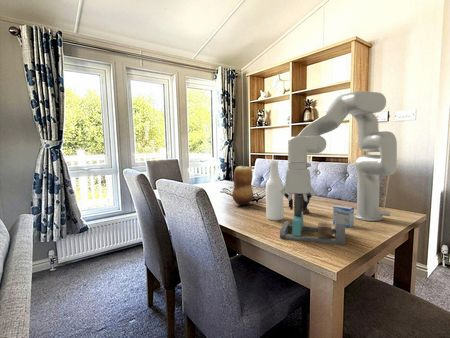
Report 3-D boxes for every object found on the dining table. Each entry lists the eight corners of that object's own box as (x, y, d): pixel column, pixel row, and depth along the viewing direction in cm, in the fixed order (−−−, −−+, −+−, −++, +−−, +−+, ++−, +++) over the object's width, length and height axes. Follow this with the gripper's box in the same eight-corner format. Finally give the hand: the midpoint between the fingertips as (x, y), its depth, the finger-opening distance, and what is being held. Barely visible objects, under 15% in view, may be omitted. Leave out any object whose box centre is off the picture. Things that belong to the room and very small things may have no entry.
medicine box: (332, 224, 116) (332, 206, 116) (336, 222, 119) (336, 204, 119) (350, 228, 111) (350, 209, 110) (353, 225, 114) (354, 207, 113)
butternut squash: (252, 207, 152) (251, 167, 150) (231, 207, 155) (229, 167, 152) (254, 202, 166) (253, 165, 164) (234, 202, 168) (233, 165, 166)
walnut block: (331, 235, 103) (331, 223, 102) (331, 239, 98) (331, 227, 98) (318, 234, 105) (318, 222, 104) (318, 238, 100) (318, 226, 100)
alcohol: (272, 221, 123) (271, 161, 121) (263, 217, 131) (262, 160, 129) (287, 219, 126) (286, 160, 124) (277, 215, 135) (276, 159, 132)
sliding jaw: (303, 225, 111) (302, 193, 110) (300, 236, 98) (300, 200, 97) (296, 224, 112) (295, 193, 111) (292, 235, 99) (292, 200, 98)
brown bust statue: (314, 216, 130) (314, 178, 128) (297, 216, 130) (297, 179, 129) (307, 210, 142) (307, 175, 140) (292, 210, 142) (292, 176, 140)
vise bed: (342, 232, 105) (342, 214, 105) (344, 245, 92) (345, 224, 92) (284, 227, 114) (284, 210, 114) (279, 238, 101) (279, 219, 101)
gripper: (319, 165, 103) (319, 208, 105) (278, 165, 109) (279, 206, 111) (319, 167, 96) (319, 213, 98) (275, 167, 102) (276, 210, 104)
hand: (297, 209), depth 104 cm, fingers open, 4 cm apart
